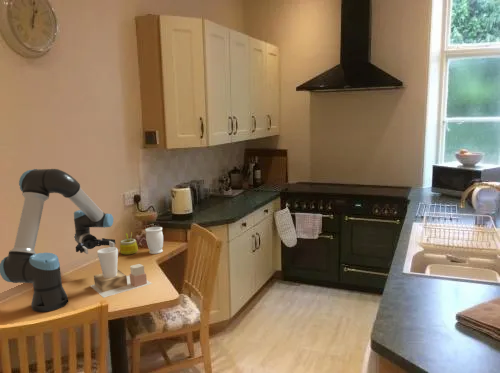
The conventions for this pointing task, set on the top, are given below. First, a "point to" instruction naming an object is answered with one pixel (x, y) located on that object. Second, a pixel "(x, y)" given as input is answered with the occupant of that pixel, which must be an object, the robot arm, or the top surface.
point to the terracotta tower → (137, 275)
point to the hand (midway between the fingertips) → (100, 248)
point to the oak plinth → (110, 281)
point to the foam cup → (108, 261)
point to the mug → (128, 246)
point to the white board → (118, 290)
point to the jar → (154, 239)
